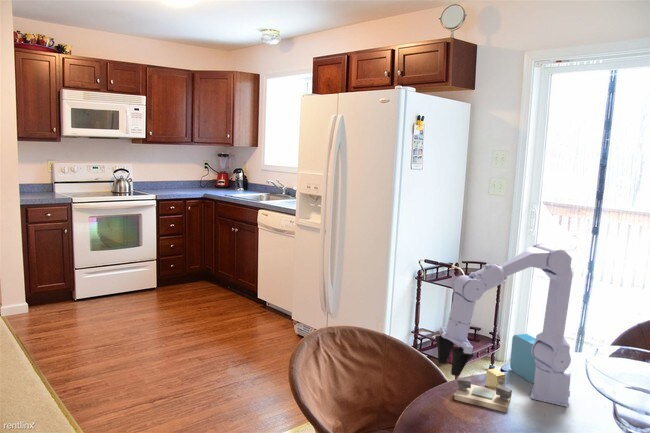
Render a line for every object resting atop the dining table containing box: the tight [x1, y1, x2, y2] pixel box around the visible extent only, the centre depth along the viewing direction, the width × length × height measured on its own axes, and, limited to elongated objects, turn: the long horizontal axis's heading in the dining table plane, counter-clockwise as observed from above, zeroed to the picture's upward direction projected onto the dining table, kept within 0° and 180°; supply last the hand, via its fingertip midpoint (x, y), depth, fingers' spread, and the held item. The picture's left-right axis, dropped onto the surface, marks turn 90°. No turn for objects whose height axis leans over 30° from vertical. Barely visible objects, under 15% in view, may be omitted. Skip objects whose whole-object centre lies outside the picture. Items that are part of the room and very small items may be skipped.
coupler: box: [485, 367, 506, 390], centre depth 150 cm, size 5×3×5 cm, turn 24°
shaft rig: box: [453, 376, 513, 413], centre depth 143 cm, size 15×9×4 cm, turn 64°
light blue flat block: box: [509, 333, 536, 385], centre depth 158 cm, size 12×4×12 cm, turn 18°
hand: (448, 368), depth 137 cm, fingers open, 7 cm apart
